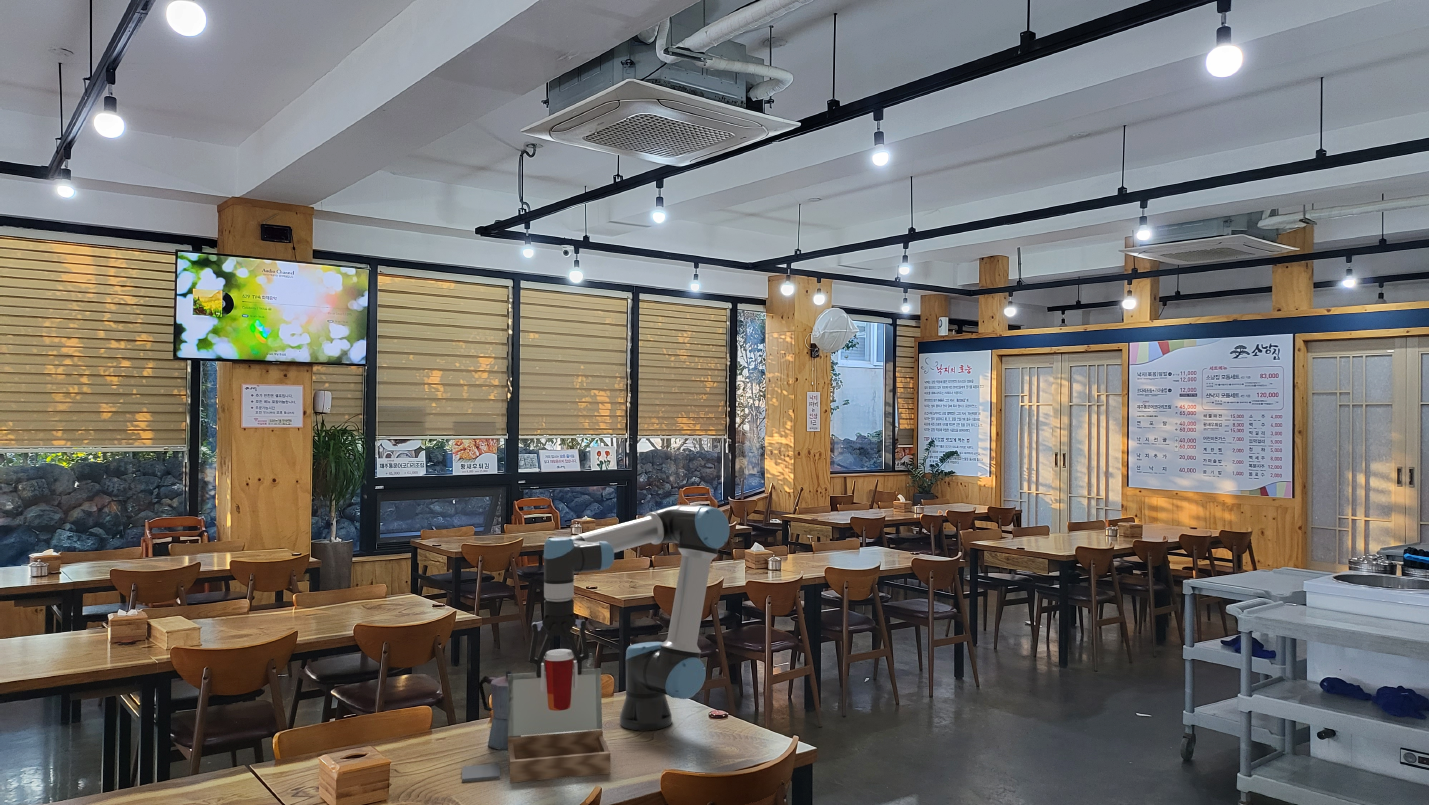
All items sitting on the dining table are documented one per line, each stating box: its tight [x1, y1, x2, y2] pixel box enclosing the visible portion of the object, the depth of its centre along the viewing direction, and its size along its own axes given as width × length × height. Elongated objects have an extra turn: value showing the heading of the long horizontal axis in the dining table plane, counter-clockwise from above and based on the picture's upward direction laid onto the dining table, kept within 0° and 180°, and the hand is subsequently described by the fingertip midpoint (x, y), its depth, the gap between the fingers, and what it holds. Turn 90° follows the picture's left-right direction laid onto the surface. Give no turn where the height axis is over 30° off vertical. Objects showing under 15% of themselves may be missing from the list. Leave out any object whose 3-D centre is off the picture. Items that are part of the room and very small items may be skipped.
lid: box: [508, 668, 603, 736], centre depth 244 cm, size 24×15×1 cm
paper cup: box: [543, 648, 575, 711], centre depth 235 cm, size 8×8×14 cm
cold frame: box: [507, 729, 611, 784], centre depth 234 cm, size 24×15×6 cm, turn 105°
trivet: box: [461, 762, 501, 783], centre depth 229 cm, size 9×9×1 cm
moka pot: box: [478, 670, 522, 751], centre depth 251 cm, size 10×15×20 cm, turn 78°
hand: (559, 688), depth 235 cm, fingers closed on paper cup, 8 cm apart
